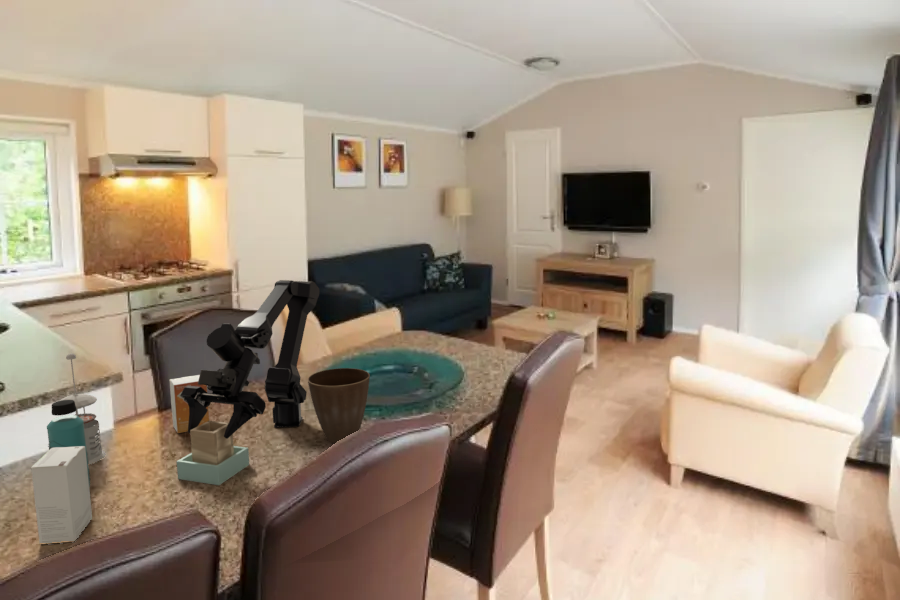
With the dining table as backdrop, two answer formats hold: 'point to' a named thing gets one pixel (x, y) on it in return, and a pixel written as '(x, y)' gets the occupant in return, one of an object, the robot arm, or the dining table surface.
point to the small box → (183, 402)
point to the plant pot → (339, 400)
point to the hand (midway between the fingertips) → (207, 435)
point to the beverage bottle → (66, 428)
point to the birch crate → (211, 443)
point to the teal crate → (213, 468)
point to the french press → (87, 422)
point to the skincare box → (61, 494)
